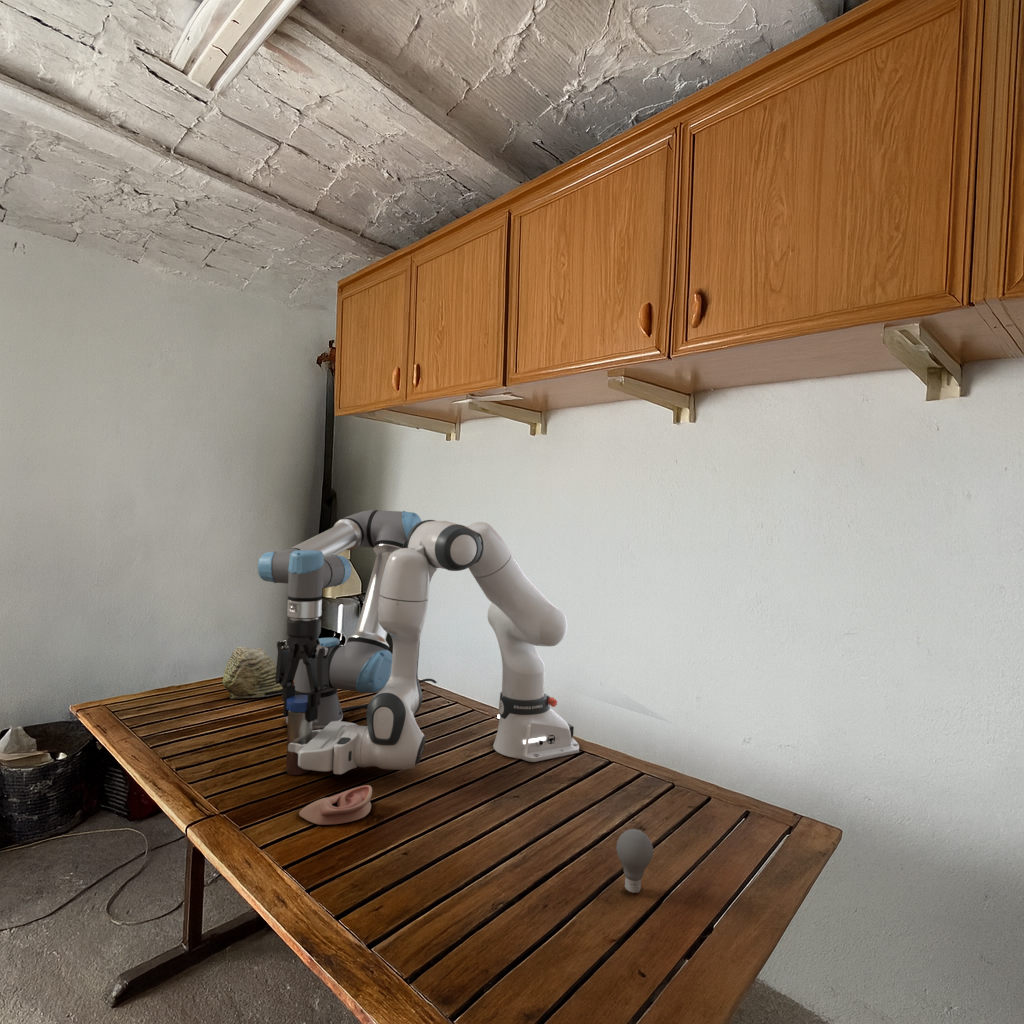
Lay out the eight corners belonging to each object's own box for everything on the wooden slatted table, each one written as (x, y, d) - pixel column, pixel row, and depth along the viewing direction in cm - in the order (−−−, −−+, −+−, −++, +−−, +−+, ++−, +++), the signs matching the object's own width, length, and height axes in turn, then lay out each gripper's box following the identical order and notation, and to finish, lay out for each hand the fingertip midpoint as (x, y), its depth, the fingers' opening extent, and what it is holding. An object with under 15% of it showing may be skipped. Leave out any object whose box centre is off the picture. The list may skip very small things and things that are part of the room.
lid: (282, 706, 146) (282, 697, 146) (308, 701, 150) (308, 693, 150) (292, 714, 141) (293, 705, 141) (319, 708, 146) (319, 700, 146)
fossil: (218, 695, 195) (220, 647, 195) (278, 685, 208) (279, 640, 207) (228, 703, 189) (230, 653, 188) (289, 692, 201) (290, 645, 201)
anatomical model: (291, 800, 123) (320, 775, 134) (290, 820, 123) (320, 794, 134) (354, 810, 120) (379, 784, 132) (353, 830, 121) (378, 803, 132)
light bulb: (610, 879, 108) (613, 822, 108) (644, 879, 109) (647, 822, 109) (619, 902, 102) (622, 840, 102) (655, 901, 103) (658, 840, 103)
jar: (302, 763, 150) (304, 696, 150) (315, 770, 147) (318, 701, 146) (281, 770, 146) (283, 701, 145) (294, 777, 142) (297, 706, 142)
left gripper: (260, 615, 146) (256, 715, 146) (326, 625, 138) (322, 730, 139) (283, 610, 153) (280, 706, 153) (348, 620, 145) (344, 720, 146)
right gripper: (368, 716, 155) (314, 712, 156) (338, 748, 135) (276, 743, 136) (367, 742, 155) (313, 737, 156) (337, 778, 135) (275, 772, 136)
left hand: (300, 717), depth 146 cm, fingers closed on lid, 6 cm apart
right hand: (295, 740), depth 146 cm, fingers closed on jar, 5 cm apart
